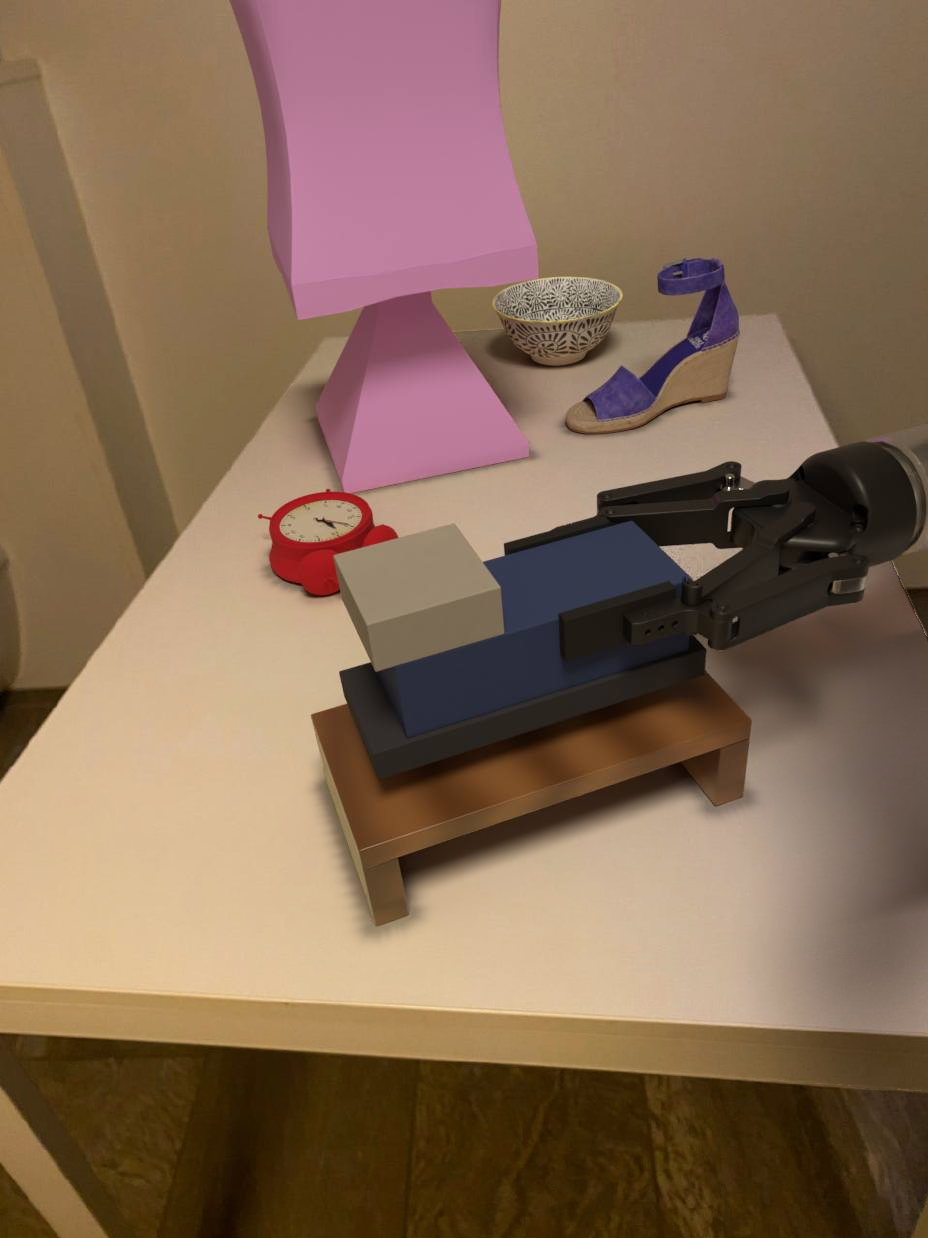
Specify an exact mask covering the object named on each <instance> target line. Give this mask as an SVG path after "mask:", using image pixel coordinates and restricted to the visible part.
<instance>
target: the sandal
mask: <svg viewBox="0 0 928 1238" xmlns="http://www.w3.org/2000/svg"><path fill="white" fill-rule="evenodd" d="M724 266H725V265H724V264H723V262H722V260H720V259H718V258H716V257H712V258H711V259H707V258H701V257H697V258H696V257H695V258H690V259H687V258H686V257H684V258H682V259H679V260H674V261H670V262H667V263H666V262H665V263H664V264H663V265H662V270H660V271H659V272H658V273H657V279H656V280H657V292H658V293H659V294H661V295H663V296H670V297H674V296H676V297H677V296H684V295H692V294H696V293H700V292H704V293H703V296H702V297H701V300H700V302H699V305H698V307H697V309H696V312H695V315H694V317H693V319H692V322H691V324H690V326H689V328H688V332H687V334H686V337H684V338H683V339H680V341H678V342H677V343H674V345H672V346H671V347H669V348H668V349H667V350H666V351H665V352H664V353H663V354H662V355H660V356H659V358H657V359H656V360H655V362H653V364H651V365H650V366H649V368H648V369H646V370H645V371H644V372H643V373H642V374H641V375H640V376H639V377H638V376H637V375H636V374H634V372H632V371H631V370H629V369H628V368H626V367H625V366H624V365H620V366H619V367H618V368H617V370H616V371H615V372H614V374H613V375H612V376H611V377H610V378H609V379H608V380H607V381H605V383H603V384H602V385H600V386H599V387H598V388H597V389H595V390H593V391H591V392H590V393H589V394H587V395H586V396H585V397H584V398H583V399H582V400H581V401H579V402H577V403H575V404H574V405H572V406H571V407H570V408H568V409H567V411H566V413H565V421H566V426H567V428H568V429H569V430H570V431H572V432H576V433H580V434H588V435H589V434H590V435H591V434H593V435H594V434H595V435H596V434H598V435H599V434H610V433H619V432H624V431H628V430H633V429H636V428H640V427H641V426H644V425H645V424H647V423H648V422H650V421H652V420H653V419H655V418H656V417H658V416H659V415H661V414H662V413H664V412H665V411H666V410H668V409H670V408H672V407H673V408H674V407H676V406H679V405H682V404H686V403H690V402H695V401H699V402H701V403H707V402H708V403H709V402H714V401H719V400H722V399H724V398H726V396H727V390H728V386H729V382H730V377H731V373H732V369H733V364H734V361H735V356H736V352H737V348H738V343H739V339H740V335H741V332H740V317H739V312H738V308H737V307H736V304H735V302H734V300H733V297H732V296H731V293H730V291H729V288H728V286H727V284H726V272H725V267H724Z"/></svg>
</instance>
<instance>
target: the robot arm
mask: <svg viewBox="0 0 928 1238" xmlns="http://www.w3.org/2000/svg"><path fill="white" fill-rule="evenodd" d="M742 467H743V466H742V463H740V462H738V461H735V460H734V461H733V460H731V461H725V462H722V463H720V464H718V465H716V466H713V467H711V468H709V469H707V470H703V471H698V472H692V473H688V474H683V475H678V476H672V477H668V478H662V479H658V480H653V481H648V482H642V483H638V484H631V485H627V486H622V487H617V488H612V489H605V490H602V491H599V492H598V493H597V494H596V515H594V516H591V517H587V518H584V519H581V520H577V521H574V522H570V523H566V524H562V525H558V526H556V527H554V528H552V529H550V530H548V531H543V532H540V533H537V534H532V535H529V536H526V537H522V538H518V539H515V540H510V541H508V542H504V543H503V554H504V556H505V555H509V554H513V553H516V552H520V551H524V550H527V549H531V548H534V547H538V546H542V545H545V544H549V543H552V542H556V541H560V540H563V539H567V538H571V537H574V536H578V535H581V534H585V533H589V532H592V531H596V530H599V529H603V528H607V527H610V526H614V525H618V524H621V523H625V522H628V521H633V522H634V523H635V524H636V525H637V526H638V527H639V528H640V529H641V530H642V531H643V532H644V533H646V534H647V535H648V536H649V537H650V538H651V539H652V540H653V541H654V542H655V543H656V544H657V545H658V546H659V547H660V548H661V547H673V546H687V545H703V544H712V545H713V546H714V547H715V548H716V549H718V550H729V549H730V550H731V549H741V550H739V551H738V552H737V553H734V554H733V555H732V556H730V557H729V558H727V559H725V560H724V561H723V562H721V563H720V564H718V565H717V566H715V567H713V568H712V569H710V570H709V571H708V572H705V574H703V575H702V576H700V577H698V578H697V579H695V580H694V579H693V580H691V579H689V578H688V581H687V584H686V577H685V576H684V577H683V578H682V589H681V596H680V597H677V598H676V587H675V586H674V585H673V584H672V583H671V582H670V581H667V582H664V583H660V584H657V585H654V586H650V587H647V588H643V589H640V590H637V591H633V592H630V593H626V594H623V595H620V596H616V597H613V598H609V599H606V600H603V601H599V602H596V603H592V604H589V605H586V606H582V607H579V608H575V609H572V610H569V611H565V612H562V613H558V615H559V638H560V654H561V656H562V657H563V658H564V660H565V661H566V662H567V661H570V660H573V659H576V658H580V657H583V656H586V655H589V654H593V653H596V652H599V651H602V650H606V649H609V648H612V647H615V646H619V645H622V644H625V643H628V642H629V643H630V644H631V645H640V644H645V643H648V642H651V641H654V640H658V639H661V638H664V637H667V636H671V635H674V634H677V633H680V632H682V633H684V634H686V635H694V636H696V635H699V636H701V637H703V638H706V639H707V646H708V647H709V648H710V649H712V650H714V651H721V652H723V651H726V650H729V649H731V648H734V647H736V646H739V645H741V644H743V643H745V642H748V641H750V640H753V639H754V638H757V637H759V636H762V635H765V634H767V633H769V632H772V631H773V630H776V629H778V628H780V627H783V626H785V625H787V624H790V623H792V622H795V621H797V620H799V619H802V618H804V617H806V616H808V615H811V614H814V613H815V612H819V611H820V610H824V609H826V608H828V607H836V606H842V605H849V604H857V603H860V602H862V601H863V599H864V597H865V596H864V595H865V590H866V584H867V579H868V575H869V569H870V568H872V567H875V566H878V565H882V564H884V563H888V562H891V561H894V560H896V559H897V558H899V557H902V556H903V557H904V556H909V555H912V554H915V553H918V552H921V551H925V550H928V422H927V423H923V424H919V425H914V426H911V427H907V428H904V429H899V430H896V431H892V432H887V433H884V434H881V435H880V434H879V435H876V436H871V437H870V438H868V439H866V440H864V441H858V442H857V441H856V442H853V443H849V444H845V445H841V446H838V447H834V448H831V449H827V450H823V451H819V452H816V453H813V454H812V455H810V456H808V457H806V459H805V460H804V461H803V462H802V463H801V464H800V465H799V466H798V467H797V469H796V470H795V471H794V472H793V473H791V474H790V476H789V477H787V478H781V479H762V480H759V481H756V482H754V481H752V480H751V479H748V478H745V477H744V476H742ZM731 510H732V512H731ZM730 512H731V518H730ZM729 518H730V530H729V531H728V529H729ZM735 618H737V619H736V621H734V619H735Z"/></svg>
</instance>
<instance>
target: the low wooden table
mask: <svg viewBox="0 0 928 1238" xmlns="http://www.w3.org/2000/svg"><path fill="white" fill-rule="evenodd" d="M310 718H311V723H312V726H313V727H312V728H313V730H314V735H315V739H316V743H317V747H318V752H319V756H320V760H321V763H322V768H323V772H324V777H325V781H326V784H327V787H328V791H329V794H330V797H331V800H332V802H333V806H334V808H335V811H336V814H337V818H338V820H339V823H340V826H341V828H342V832H343V835H344V837H345V841H346V843H347V846H348V849H349V852H350V855H351V859H352V860H353V861H352V862H353V864H354V866H355V867H354V868H355V869H356V872H357V877H358V879H359V881H360V884H361V887H362V890H363V893H364V896H365V899H366V902H367V905H368V908H369V911H370V913H371V916H372V920H373V923H374V925H375V926H376V927H379V926H381V925H384V924H387V923H389V922H390V923H391V922H392V921H395V920H397V919H401V918H405V917H407V916H409V913H410V911H409V907H408V902H407V897H406V891H405V887H404V881H403V876H402V872H401V867H400V861H399V858H400V857H403V856H405V855H408V854H409V855H410V854H412V853H415V852H417V851H421V850H423V849H427V848H429V847H433V846H435V845H438V844H441V843H444V842H448V841H450V840H452V839H453V840H454V839H457V838H459V837H461V836H464V835H468V834H471V833H474V832H476V831H480V830H483V829H486V828H488V827H491V826H494V825H497V824H500V823H503V822H506V821H509V820H512V819H515V818H518V817H521V816H524V815H526V814H529V813H532V812H536V811H539V810H541V809H545V808H547V807H551V806H552V805H556V804H559V803H562V802H565V801H568V800H571V799H574V798H577V797H580V796H583V795H585V794H589V793H592V792H595V791H598V790H600V789H604V788H606V787H609V786H612V785H616V784H618V783H621V782H624V781H627V780H630V779H634V778H636V777H639V776H641V775H644V774H647V773H651V772H654V771H656V770H660V769H662V768H666V767H668V766H671V765H674V764H677V763H680V764H681V765H682V766H683V768H684V769H685V770H686V771H687V772H688V773H689V775H690V776H691V777H692V779H693V780H694V781H695V782H696V784H697V785H698V786H699V787H700V789H701V790H702V791H703V792H704V794H705V795H706V796H707V797H708V799H709V800H710V801H711V803H712V804H713V805H714V806H715V807H718V806H721V805H724V804H726V803H729V802H732V801H735V800H737V799H741V798H743V797H744V791H745V784H746V783H745V781H746V776H747V775H746V774H747V765H748V757H749V749H750V741H751V731H752V722H753V720H752V718H751V717H750V716H749V715H748V714H747V713H746V712H745V711H744V709H743V708H742V707H741V706H740V705H739V704H738V703H737V702H736V701H735V699H733V698H732V697H731V696H730V694H728V693H727V692H726V690H725V689H724V688H723V687H722V686H721V685H720V684H719V683H718V682H717V681H716V680H715V678H713V676H712V675H711V674H710V673H709V672H708V671H707V670H706V669H705V675H703V676H700V677H697V678H694V679H691V680H688V681H685V682H682V683H678V684H675V685H672V686H669V687H666V688H663V689H660V690H657V691H654V692H650V693H647V694H644V695H641V696H638V697H635V698H632V699H629V700H626V701H623V702H619V703H616V704H613V705H610V706H607V707H604V708H601V709H598V710H595V711H591V712H588V713H585V714H582V715H579V716H576V717H573V718H570V719H567V720H564V721H560V722H557V723H554V724H551V725H548V726H545V727H542V728H539V729H536V730H532V731H529V732H526V733H523V734H520V735H517V736H514V737H511V738H508V739H505V740H501V741H498V742H495V743H492V744H489V745H486V746H483V747H480V748H477V749H473V750H470V751H467V752H464V753H461V754H458V755H455V756H452V757H449V758H446V759H442V760H439V761H436V762H433V763H430V764H427V765H424V766H421V767H418V768H414V769H411V770H408V771H405V772H402V773H399V774H396V775H393V776H390V777H387V778H383V779H380V780H378V779H377V776H376V774H375V771H374V769H373V766H372V764H371V761H370V759H369V756H368V754H367V751H366V749H365V747H364V744H363V742H362V739H361V737H360V734H359V732H358V729H357V727H356V724H355V722H354V719H353V717H352V714H351V712H350V709H349V707H348V704H347V703H344V704H341V705H337V706H334V707H331V708H328V709H327V708H326V709H324V710H321V711H317V712H314V713H311V714H310Z"/></svg>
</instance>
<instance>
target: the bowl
mask: <svg viewBox="0 0 928 1238" xmlns="http://www.w3.org/2000/svg"><path fill="white" fill-rule="evenodd" d="M623 295H624V293H623V291H622V289H621V288H620V287H618V286H617V285H615V284H614V283H611V282H609V281H607V280H603V279H599V278H594V277H586V276H551V277H543V278H538V279H532V280H526V281H521V282H518V283H515V284H513V285H510V286H508V287H506V288H504V289H502V290H501V291H499V292H498V293H497V294H496V295H494V297H493V299H492V301H491V305H492V308H493V310H494V311H495V313H496V315H497V316H498V319H499V321H500V322H501V325H502V327H503V329H504V331H505V334H506V336H507V337H508V339H509V340H510V342H512V343H513V345H514V346H515V347H517V348H518V349H519V350H521V352H524V353H525V354H528V355H530V357H531V360H532V361H534V362H535V363H537V364H540V365H543V366H553V367H554V366H555V367H556V366H557V367H558V366H567V365H572V364H575V363H578V362H580V361H582V360H583V359H584V358H585V357H586V356H587V353H588V352H589V351H591V350H592V349H594V348H595V347H596V346H597V345H599V344H600V343H601V342H602V341H603V339H604V338H605V337H606V336H607V334H608V333H609V331H610V329H611V327H612V324H613V322H614V319H615V316H616V313H617V310H618V309H619V307H620V304H621V302H622V300H623V297H624V296H623Z"/></svg>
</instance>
